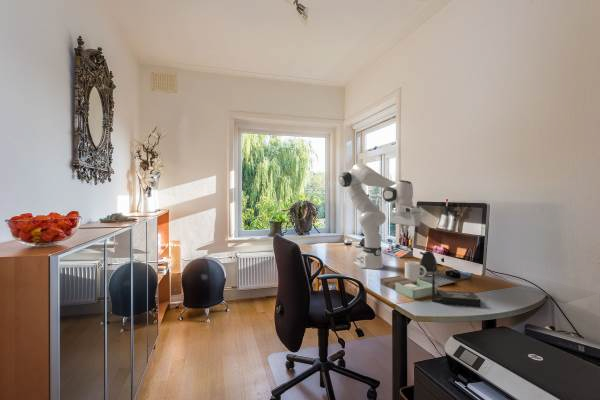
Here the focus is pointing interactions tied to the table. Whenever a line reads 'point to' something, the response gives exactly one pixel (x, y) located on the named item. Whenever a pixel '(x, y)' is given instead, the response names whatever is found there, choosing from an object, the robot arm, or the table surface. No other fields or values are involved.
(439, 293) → the black rod on base
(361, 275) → the table surface
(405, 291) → the tray
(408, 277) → the mug
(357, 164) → the robot arm
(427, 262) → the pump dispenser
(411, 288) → the tile rear
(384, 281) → the walnut board
